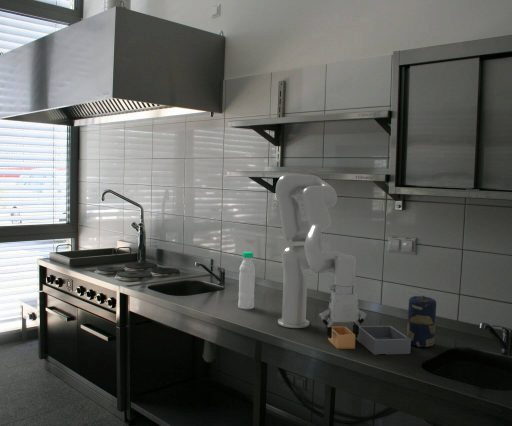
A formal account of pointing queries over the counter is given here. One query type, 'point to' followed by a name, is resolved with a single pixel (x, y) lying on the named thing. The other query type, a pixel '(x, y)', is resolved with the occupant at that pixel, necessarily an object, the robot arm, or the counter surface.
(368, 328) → the big crate
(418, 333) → the canister
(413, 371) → the counter surface
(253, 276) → the water bottle
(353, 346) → the small crate
